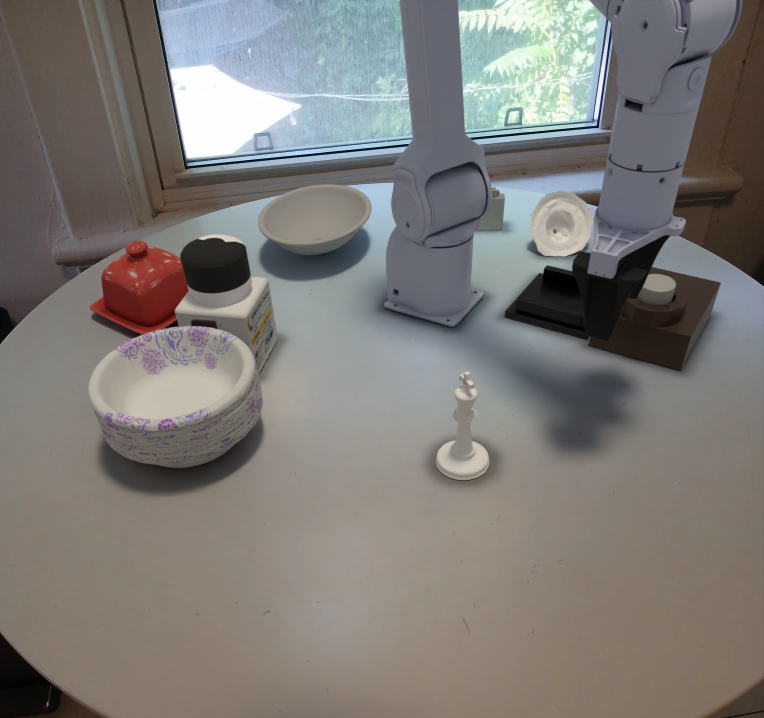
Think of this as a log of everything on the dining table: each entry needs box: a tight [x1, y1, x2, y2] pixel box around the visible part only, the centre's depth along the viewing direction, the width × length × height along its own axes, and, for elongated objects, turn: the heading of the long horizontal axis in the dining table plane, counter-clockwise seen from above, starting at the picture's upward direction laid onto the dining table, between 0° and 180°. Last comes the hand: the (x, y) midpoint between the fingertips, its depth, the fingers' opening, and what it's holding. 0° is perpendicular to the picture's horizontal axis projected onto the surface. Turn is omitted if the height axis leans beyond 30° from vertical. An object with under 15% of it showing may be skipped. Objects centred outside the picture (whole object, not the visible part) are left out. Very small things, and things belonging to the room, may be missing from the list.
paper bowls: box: [87, 326, 264, 469], centre depth 69 cm, size 15×15×8 cm
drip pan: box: [504, 264, 590, 340], centre depth 85 cm, size 10×10×2 cm
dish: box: [257, 183, 373, 256], centre depth 96 cm, size 18×14×5 cm
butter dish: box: [89, 240, 189, 335], centre depth 86 cm, size 12×12×8 cm
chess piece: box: [435, 370, 490, 481], centre depth 64 cm, size 5×5×10 cm
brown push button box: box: [588, 266, 722, 371], centre depth 79 cm, size 10×12×6 cm
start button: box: [637, 274, 676, 305], centre depth 75 cm, size 4×4×2 cm
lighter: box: [476, 186, 506, 231], centre depth 98 cm, size 7×2×8 cm, turn 86°
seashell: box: [529, 190, 594, 257], centre depth 95 cm, size 8×5×8 cm
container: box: [175, 233, 279, 375], centre depth 77 cm, size 8×8×13 cm
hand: (612, 315), depth 65 cm, fingers open, 7 cm apart
